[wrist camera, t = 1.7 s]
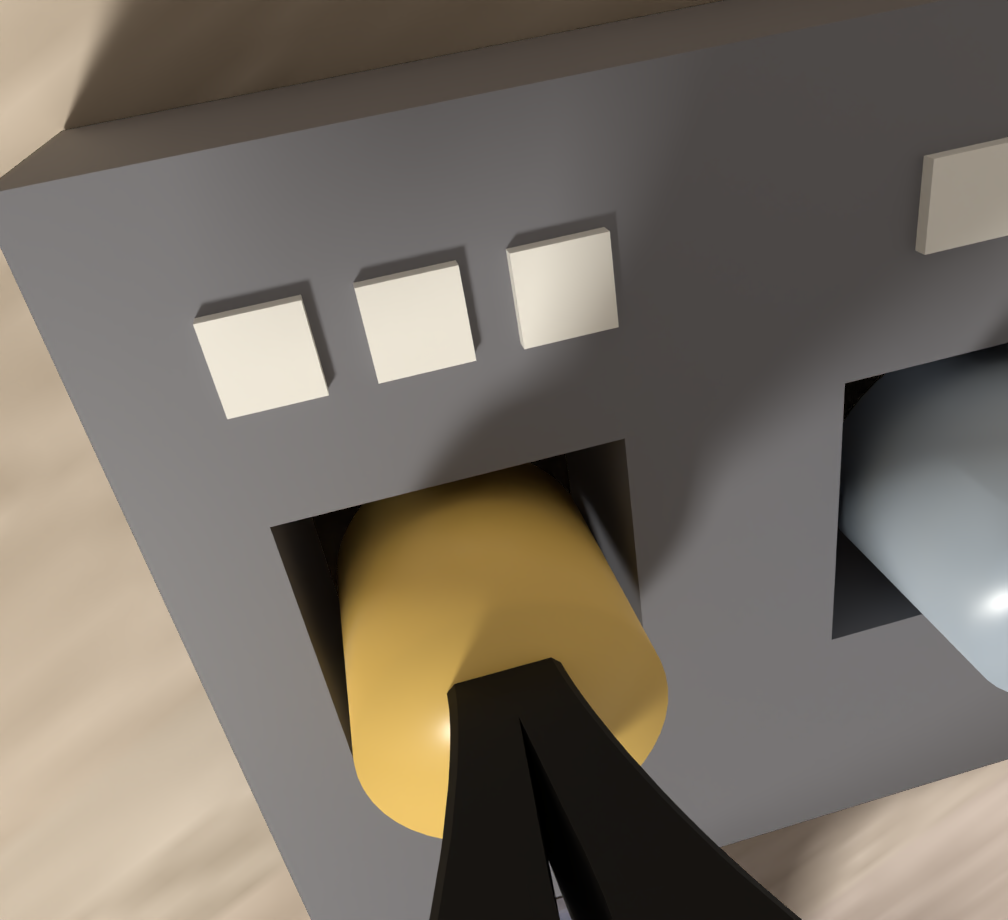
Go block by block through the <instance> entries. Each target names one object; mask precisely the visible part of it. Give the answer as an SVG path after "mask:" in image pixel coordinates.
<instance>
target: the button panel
mask: <svg viewBox="0 0 1008 920" xmlns="http://www.w3.org/2000/svg"><path fill="white" fill-rule="evenodd" d="M0 248H1V250H2V252H3V254H4V256H5V258H6V261H7V263H8V265H9V267H10V269H11V271H12V274H13V276H14V278H15V280H16V282H17V284H18V287H19V289H20V291H21V293H22V295H23V297H24V300H25V302H26V304H27V306H28V308H29V310H30V313H31V315H32V317H33V319H34V321H35V323H36V325H37V328H38V330H39V332H40V334H41V336H42V338H43V341H44V343H45V345H46V347H47V349H48V351H49V354H50V356H51V358H52V360H53V362H54V364H55V367H56V369H57V371H58V373H59V375H60V377H61V380H62V382H63V384H64V386H65V388H66V390H67V393H68V395H69V397H70V399H71V401H72V403H73V406H74V408H75V410H76V412H77V414H78V416H79V419H80V421H81V423H82V425H83V427H84V429H85V432H86V434H87V436H88V438H89V440H90V442H91V445H92V447H93V449H94V451H95V453H96V455H97V458H98V460H99V462H100V464H101V466H102V468H103V471H104V473H105V475H106V477H107V479H108V481H109V483H110V486H111V488H112V490H113V492H114V494H115V496H116V499H117V501H118V503H119V505H120V507H121V509H122V512H123V514H124V516H125V518H126V520H127V522H128V525H129V527H130V529H131V531H132V533H133V535H134V538H135V540H136V542H137V544H138V546H139V548H140V551H141V553H142V555H143V557H144V559H145V561H146V564H147V566H148V568H149V570H150V572H151V574H152V577H153V579H154V581H155V583H156V585H157V587H158V590H159V592H160V594H161V596H162V598H163V600H164V603H165V605H166V607H167V609H168V611H169V613H170V616H171V618H172V620H173V622H174V624H175V626H176V628H177V631H178V633H179V635H180V637H181V639H182V641H183V644H184V646H185V648H186V650H187V652H188V654H189V657H190V659H191V661H192V663H193V665H194V667H195V670H196V672H197V674H198V676H199V678H200V680H201V683H202V685H203V687H204V689H205V691H206V693H207V696H208V698H209V700H210V702H211V704H212V706H213V709H214V711H215V713H216V715H217V717H218V719H219V722H220V724H221V726H222V728H223V730H224V732H225V735H226V737H227V739H228V741H229V743H230V745H231V748H232V750H233V752H234V754H235V756H236V758H237V761H238V763H239V765H240V767H241V769H242V771H243V774H244V776H245V778H246V780H247V782H248V784H249V786H250V789H251V791H252V793H253V795H254V797H255V799H256V802H257V804H258V806H259V808H260V810H261V812H262V815H263V817H264V819H265V821H266V823H267V825H268V828H269V830H270V832H271V834H272V836H273V838H274V841H275V843H276V845H277V847H278V849H279V851H280V854H281V856H282V858H283V860H284V862H285V864H286V867H287V869H288V871H289V873H290V875H291V877H292V880H293V882H294V884H295V886H296V888H297V890H298V893H299V895H300V897H301V899H302V901H303V903H304V906H305V908H306V910H307V912H308V914H309V916H310V919H311V920H429V918H430V912H431V906H432V901H433V895H434V889H435V883H436V877H437V871H438V866H439V860H440V853H441V846H442V839H441V838H437V837H432V836H428V835H425V834H422V833H419V832H416V831H414V830H411V829H409V828H407V827H405V826H403V825H401V824H399V823H397V822H396V821H394V820H393V819H391V818H390V817H388V816H387V815H386V814H384V813H383V812H382V811H381V810H380V809H379V808H378V807H377V806H376V805H375V804H374V803H373V802H372V801H371V799H370V798H369V797H368V795H367V794H366V792H365V791H364V789H363V787H362V785H361V783H360V781H359V779H358V777H357V773H356V769H355V765H354V760H353V749H352V738H351V726H350V715H349V704H348V693H347V682H346V670H345V659H344V648H343V637H342V626H341V614H340V603H339V598H338V595H337V592H336V589H335V586H334V582H333V579H332V576H331V573H330V570H329V567H328V564H327V561H326V558H325V555H324V552H323V549H322V546H321V543H320V540H319V537H318V534H317V531H316V527H315V524H314V521H313V518H312V517H313V516H317V515H321V514H325V513H329V512H333V511H337V510H341V509H345V508H349V507H353V506H357V505H361V504H365V503H369V502H373V501H377V500H381V499H385V498H389V497H393V496H397V495H401V494H405V493H409V492H413V491H417V490H421V489H425V488H429V487H433V486H437V485H441V484H445V483H449V482H453V481H457V480H461V479H465V478H469V477H473V476H477V475H481V474H485V473H489V472H493V471H497V470H501V469H505V468H509V467H513V466H517V465H521V464H525V463H529V462H533V461H537V460H541V459H545V458H549V457H553V456H557V455H561V454H565V456H566V463H567V470H568V477H569V485H570V492H571V497H572V499H573V500H574V502H575V504H576V505H577V507H578V509H579V511H580V513H581V514H582V516H583V518H584V520H585V522H586V524H587V526H588V527H589V529H590V531H591V533H592V535H593V537H594V538H595V540H596V542H597V544H598V546H599V548H600V550H601V551H602V553H603V555H604V557H605V559H606V561H607V562H608V564H609V566H610V568H611V570H612V572H613V574H614V575H615V577H616V579H617V581H618V583H619V585H620V586H621V588H622V590H623V592H624V594H625V596H626V598H627V599H628V601H629V603H630V605H631V607H632V609H633V610H634V612H635V614H636V616H637V618H638V620H639V622H640V623H641V625H642V627H643V629H644V631H645V633H646V634H647V636H648V638H649V640H650V642H651V644H652V646H653V647H654V649H655V651H656V653H657V655H658V657H659V658H660V660H661V663H662V666H663V668H664V671H665V674H666V679H667V685H668V706H667V712H666V718H665V721H664V724H663V727H662V730H661V733H660V735H659V737H658V739H657V741H656V743H655V745H654V747H653V749H652V750H651V752H650V753H649V755H648V756H647V758H646V759H645V761H644V762H643V764H642V765H641V767H642V768H643V769H644V770H645V771H646V773H647V774H648V775H649V776H650V777H651V778H652V779H653V780H654V781H655V782H656V784H657V785H658V786H659V787H660V788H661V789H662V790H663V791H664V792H665V793H666V794H667V795H668V796H669V797H670V799H671V800H672V801H673V802H674V803H675V804H676V805H677V806H678V807H679V808H680V809H681V810H682V811H683V812H684V813H685V814H686V815H687V816H688V817H689V818H690V819H691V820H692V821H693V822H694V823H695V824H696V825H697V826H698V827H699V828H700V829H701V830H702V831H703V832H704V833H705V834H706V835H707V836H708V837H709V838H710V839H712V840H713V841H714V842H715V843H716V844H717V845H718V846H719V847H723V846H726V845H729V844H732V843H736V842H739V841H742V840H745V839H749V838H752V837H755V836H758V835H762V834H765V833H768V832H772V831H775V830H778V829H781V828H785V827H788V826H791V825H794V824H798V823H801V822H804V821H808V820H811V819H814V818H817V817H821V816H824V815H827V814H830V813H834V812H837V811H840V810H843V809H847V808H850V807H853V806H857V805H860V804H863V803H866V802H870V801H873V800H876V799H879V798H883V797H886V796H889V795H892V794H896V793H899V792H902V791H906V790H909V789H912V788H915V787H919V786H922V785H925V784H928V783H932V782H935V781H938V780H942V779H945V778H948V777H951V776H955V775H958V774H961V773H964V772H968V771H971V770H974V769H977V768H981V767H984V766H987V765H991V764H994V763H997V762H1000V761H1004V760H1007V759H1008V692H1007V691H1004V690H1002V689H1000V688H998V687H996V686H995V685H993V684H992V683H991V682H989V681H988V680H987V679H986V678H985V677H984V676H983V675H982V674H981V673H980V672H979V671H978V670H977V669H976V668H975V667H974V666H973V665H972V664H971V663H970V662H969V661H968V660H967V659H966V658H965V657H964V656H963V655H962V654H961V653H960V652H959V651H958V650H957V649H956V648H955V647H954V646H953V645H952V644H951V643H950V642H949V641H948V640H947V638H946V637H945V636H944V635H943V634H942V633H941V632H940V631H939V630H938V629H937V628H936V627H935V626H934V625H933V624H932V623H931V622H930V621H929V620H928V619H927V618H926V617H925V616H924V615H923V614H922V613H921V612H920V611H919V610H918V609H917V608H916V607H915V606H914V605H913V604H912V603H911V602H910V601H909V600H908V599H907V598H906V597H905V596H904V595H903V594H902V593H901V592H900V591H899V590H898V589H897V588H896V587H895V586H894V585H893V583H892V582H891V581H890V580H889V579H888V578H887V577H886V576H885V575H884V574H883V573H882V572H881V571H880V570H879V569H878V568H877V567H876V566H875V565H874V564H873V563H872V562H871V561H870V560H869V559H868V558H867V557H866V556H865V555H864V554H863V553H862V552H861V551H860V550H859V549H858V548H857V547H856V546H855V545H854V544H853V543H852V542H851V541H850V540H849V539H848V538H847V537H846V536H845V535H844V533H843V532H842V531H841V530H840V529H839V528H838V507H839V488H840V469H841V449H842V430H843V411H844V391H845V383H849V382H853V381H857V380H861V379H865V378H869V377H873V376H877V375H881V374H885V373H889V372H893V371H897V370H901V369H905V368H909V367H913V366H917V365H921V364H925V363H929V362H933V361H937V360H941V359H945V358H949V357H953V356H957V355H961V354H965V353H969V352H973V351H977V350H981V349H985V348H988V347H992V346H996V345H1000V344H1004V343H1007V344H1008V0H723V1H718V2H713V3H708V4H703V5H698V6H693V7H688V8H683V9H678V10H673V11H668V12H662V13H657V14H652V15H647V16H642V17H637V18H632V19H627V20H622V21H617V22H612V23H607V24H601V25H596V26H591V27H586V28H581V29H576V30H571V31H566V32H561V33H556V34H551V35H546V36H540V37H535V38H530V39H525V40H520V41H515V42H510V43H505V44H500V45H495V46H490V47H485V48H480V49H474V50H469V51H464V52H459V53H454V54H449V55H444V56H439V57H434V58H429V59H424V60H419V61H413V62H408V63H403V64H398V65H393V66H388V67H383V68H378V69H373V70H368V71H363V72H358V73H352V74H347V75H342V76H337V77H332V78H327V79H322V80H317V81H312V82H307V83H302V84H297V85H292V86H286V87H281V88H276V89H271V90H266V91H261V92H256V93H251V94H246V95H241V96H236V97H231V98H225V99H220V100H215V101H210V102H205V103H200V104H195V105H190V106H185V107H180V108H175V109H170V110H164V111H159V112H154V113H149V114H144V115H139V116H134V117H129V118H124V119H119V120H114V121H109V122H104V123H98V124H93V125H88V126H83V127H78V128H73V129H68V130H63V131H61V132H60V133H58V134H57V135H56V136H54V137H53V138H52V139H50V140H49V141H48V142H47V143H45V144H44V145H43V146H41V147H40V148H39V149H37V150H36V151H35V152H33V153H32V154H31V155H30V156H28V157H27V158H26V159H24V160H23V161H22V162H20V163H19V164H18V165H17V166H15V167H14V168H13V169H11V170H10V171H9V172H7V173H6V174H5V175H3V176H2V177H1V178H0ZM549 865H550V863H549ZM550 870H551V875H552V880H553V885H554V891H555V896H556V897H559V896H562V894H561V891H560V889H559V886H558V884H557V881H556V878H555V876H554V873H553V871H552V868H551V865H550Z"/></svg>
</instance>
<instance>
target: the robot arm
mask: <svg viewBox="0 0 1008 920" xmlns="http://www.w3.org/2000/svg"><path fill="white" fill-rule="evenodd" d="M447 698H448V705H449V716H450V761H449V780H448V791H447V801H446V810H445V819H444V829H443V838H442V846H441V853H440V860H439V866H438V871H437V877H436V883H435V889H434V895H433V901H432V906H431V912H430V918H429V920H802V919H801V918H799V917H798V916H797V915H796V914H794V913H793V912H792V911H791V910H790V909H788V908H787V907H786V906H785V905H784V904H783V903H781V902H780V901H779V900H778V899H777V898H776V897H774V896H773V895H772V894H771V893H770V892H769V891H767V890H766V889H765V888H764V887H763V886H762V885H761V884H759V883H758V882H757V881H756V880H755V879H754V878H752V877H751V876H750V875H749V874H748V873H747V872H746V871H745V870H744V869H743V868H741V867H740V866H739V865H738V864H737V863H736V862H735V861H734V860H733V859H732V858H731V857H729V856H728V855H727V854H726V853H725V852H724V851H723V850H722V849H721V848H720V847H719V846H718V845H717V844H716V843H715V842H714V841H713V840H712V839H710V838H709V837H708V836H707V835H706V834H705V833H704V832H703V831H702V830H701V829H700V828H699V827H698V826H697V825H696V824H695V823H694V822H693V821H692V820H691V819H690V818H689V817H688V816H687V815H686V814H685V813H684V812H683V811H682V810H681V809H680V808H679V807H678V806H677V805H676V804H675V803H674V802H673V801H672V800H671V799H670V797H669V796H668V795H667V794H666V793H665V792H664V791H663V790H662V789H661V788H660V787H659V786H658V785H657V784H656V782H655V781H654V780H653V779H652V778H651V777H650V776H649V775H648V774H647V773H646V771H645V770H644V769H643V768H642V767H641V766H640V765H639V764H638V763H637V762H636V760H635V759H634V758H633V757H632V756H631V755H630V754H629V753H628V751H627V750H626V749H625V748H624V747H623V746H622V744H621V743H620V742H619V741H618V740H617V739H616V737H615V736H614V735H613V734H612V733H611V731H610V730H609V729H608V728H607V726H606V725H605V724H604V723H603V721H602V720H601V719H600V718H599V716H598V715H597V714H596V713H595V711H594V710H593V709H592V707H591V706H590V705H589V703H588V702H587V701H586V699H585V698H584V697H583V695H582V694H581V692H580V691H579V690H578V688H577V687H576V685H575V684H574V682H573V681H572V679H571V678H570V676H569V675H568V673H567V672H566V670H565V669H564V667H563V665H562V663H561V662H559V661H557V660H555V659H553V658H551V657H550V658H547V659H543V660H540V661H536V662H532V663H529V664H525V665H522V666H518V667H514V668H511V669H507V670H503V671H500V672H496V673H493V674H489V675H485V676H482V677H478V678H474V679H471V680H467V681H464V682H460V683H456V684H454V685H453V686H452V688H451V689H450V690H449V691H448V693H447ZM549 863H550V865H551V868H552V871H553V873H554V876H555V878H556V881H557V884H558V886H559V889H560V891H561V894H562V898H559V899H556V896H555V891H554V885H553V880H552V875H551V870H550V865H549Z"/></svg>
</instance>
